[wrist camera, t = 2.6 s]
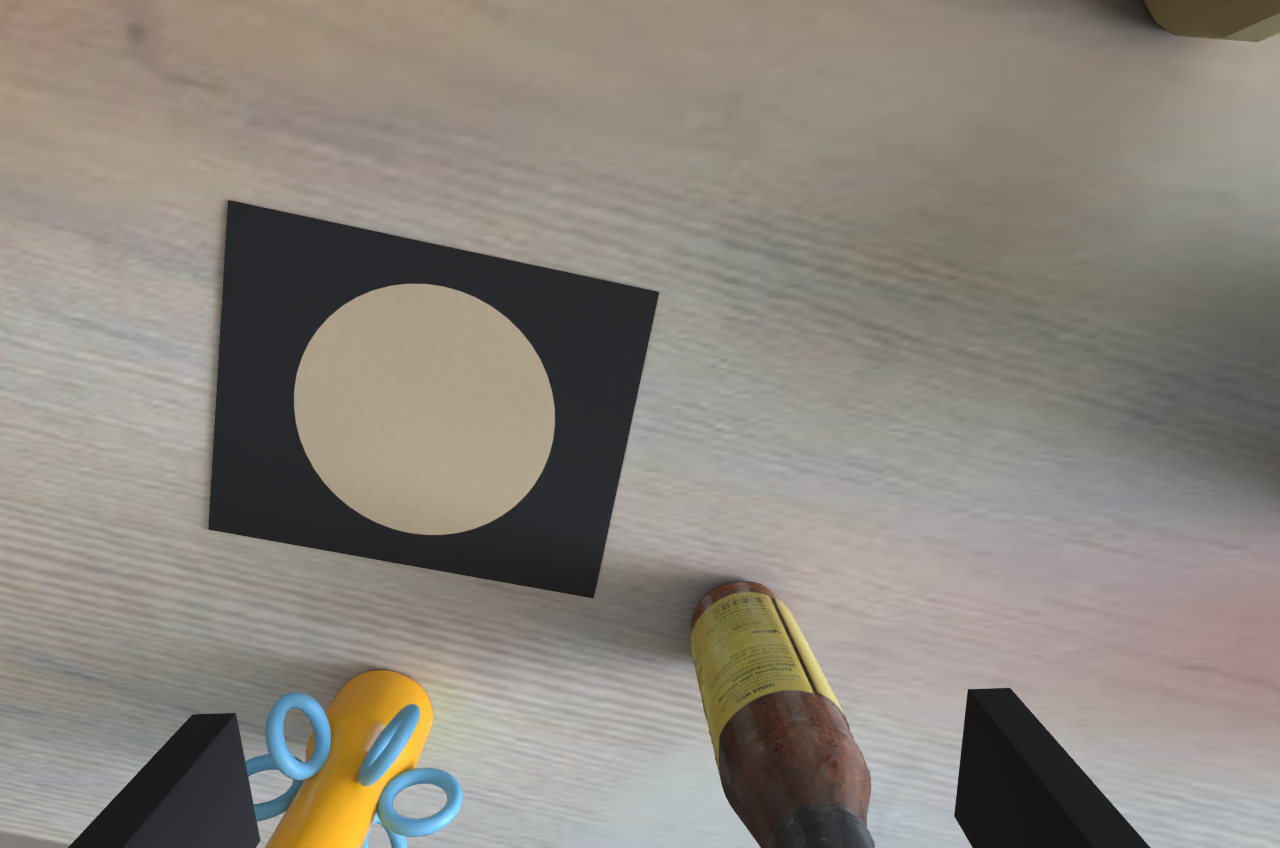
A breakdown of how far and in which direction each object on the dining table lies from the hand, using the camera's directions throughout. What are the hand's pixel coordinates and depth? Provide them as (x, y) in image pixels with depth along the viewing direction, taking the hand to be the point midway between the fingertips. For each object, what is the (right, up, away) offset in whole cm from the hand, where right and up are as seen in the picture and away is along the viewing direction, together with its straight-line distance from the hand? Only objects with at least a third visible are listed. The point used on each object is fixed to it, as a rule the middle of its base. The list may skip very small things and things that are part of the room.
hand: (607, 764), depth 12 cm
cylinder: (-15, -11, +30) cm, 35 cm away
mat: (-11, +7, +25) cm, 28 cm away
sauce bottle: (+7, -6, +29) cm, 30 cm away
